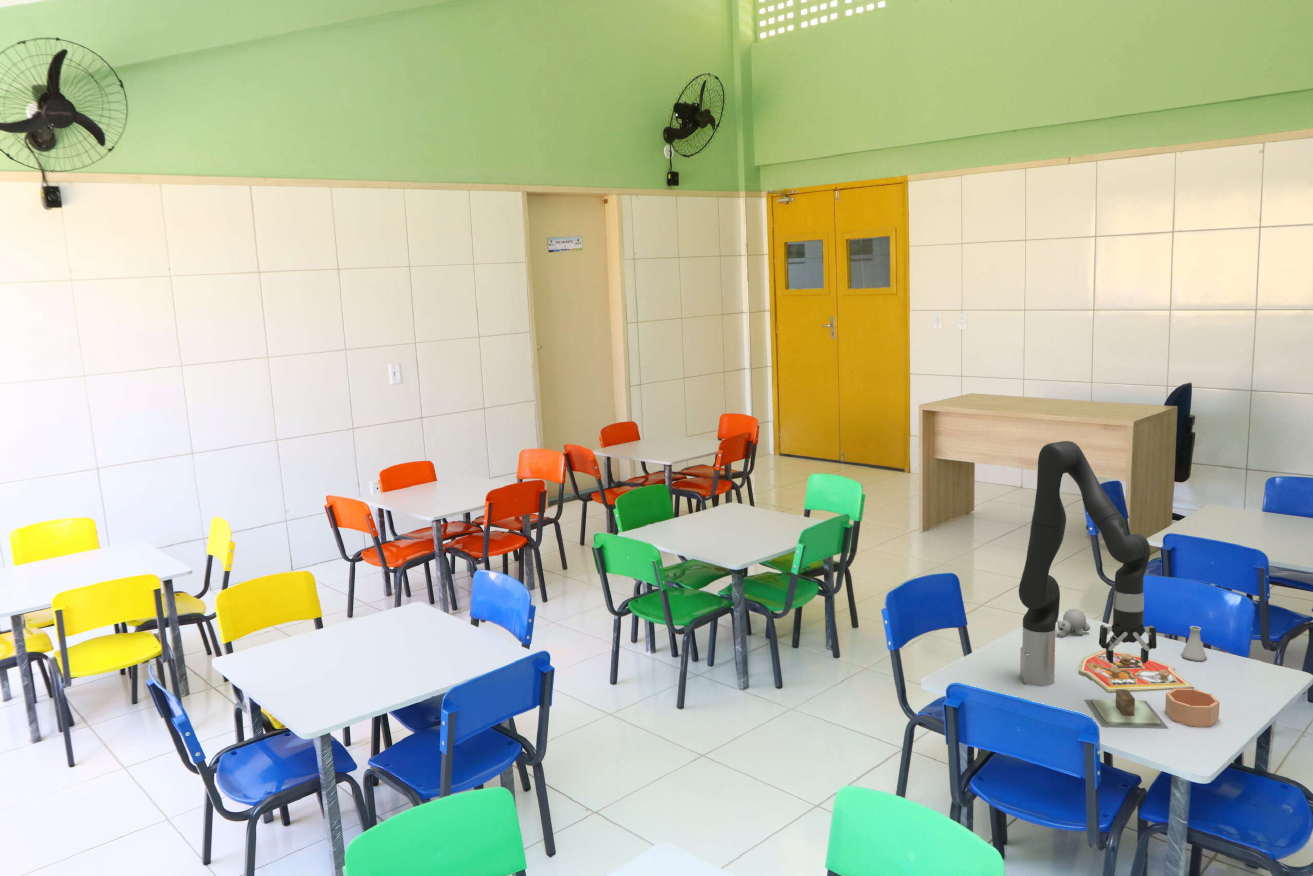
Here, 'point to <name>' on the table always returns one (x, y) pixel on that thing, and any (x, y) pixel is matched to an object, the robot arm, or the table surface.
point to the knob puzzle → (1130, 673)
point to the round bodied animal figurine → (1072, 623)
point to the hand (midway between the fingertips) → (1126, 662)
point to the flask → (1194, 646)
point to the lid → (1125, 710)
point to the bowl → (1192, 707)
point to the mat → (1102, 723)
